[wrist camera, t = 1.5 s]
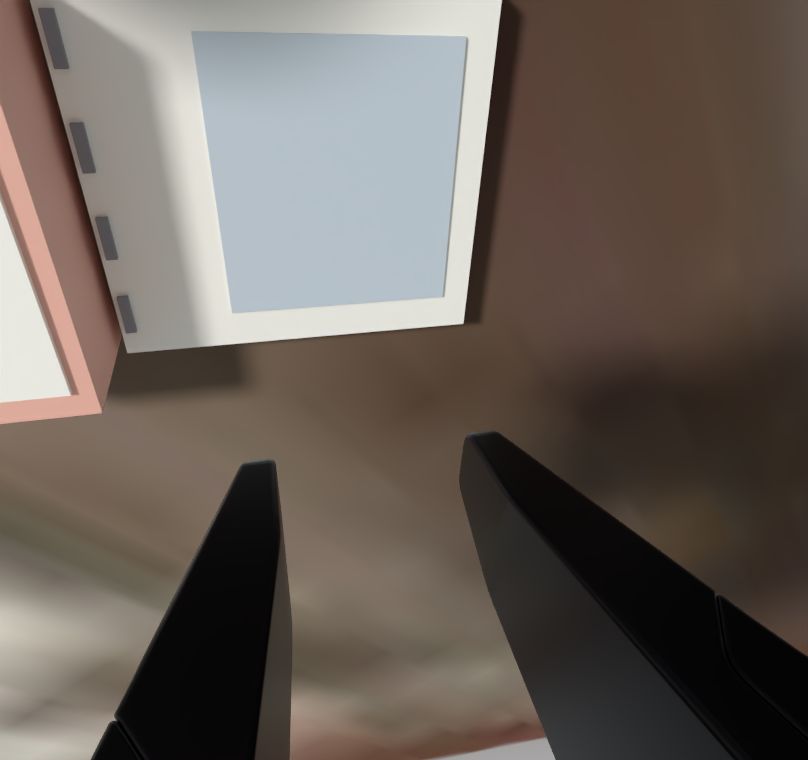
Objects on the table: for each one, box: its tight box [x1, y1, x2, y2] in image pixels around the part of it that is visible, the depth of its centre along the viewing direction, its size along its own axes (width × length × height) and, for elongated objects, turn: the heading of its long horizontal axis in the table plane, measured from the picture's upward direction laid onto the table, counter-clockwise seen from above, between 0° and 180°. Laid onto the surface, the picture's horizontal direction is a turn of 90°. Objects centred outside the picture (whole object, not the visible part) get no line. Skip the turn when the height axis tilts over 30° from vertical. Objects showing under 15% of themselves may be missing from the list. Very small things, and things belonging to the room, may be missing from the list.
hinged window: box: [30, 0, 502, 353], centre depth 17 cm, size 11×10×1 cm
